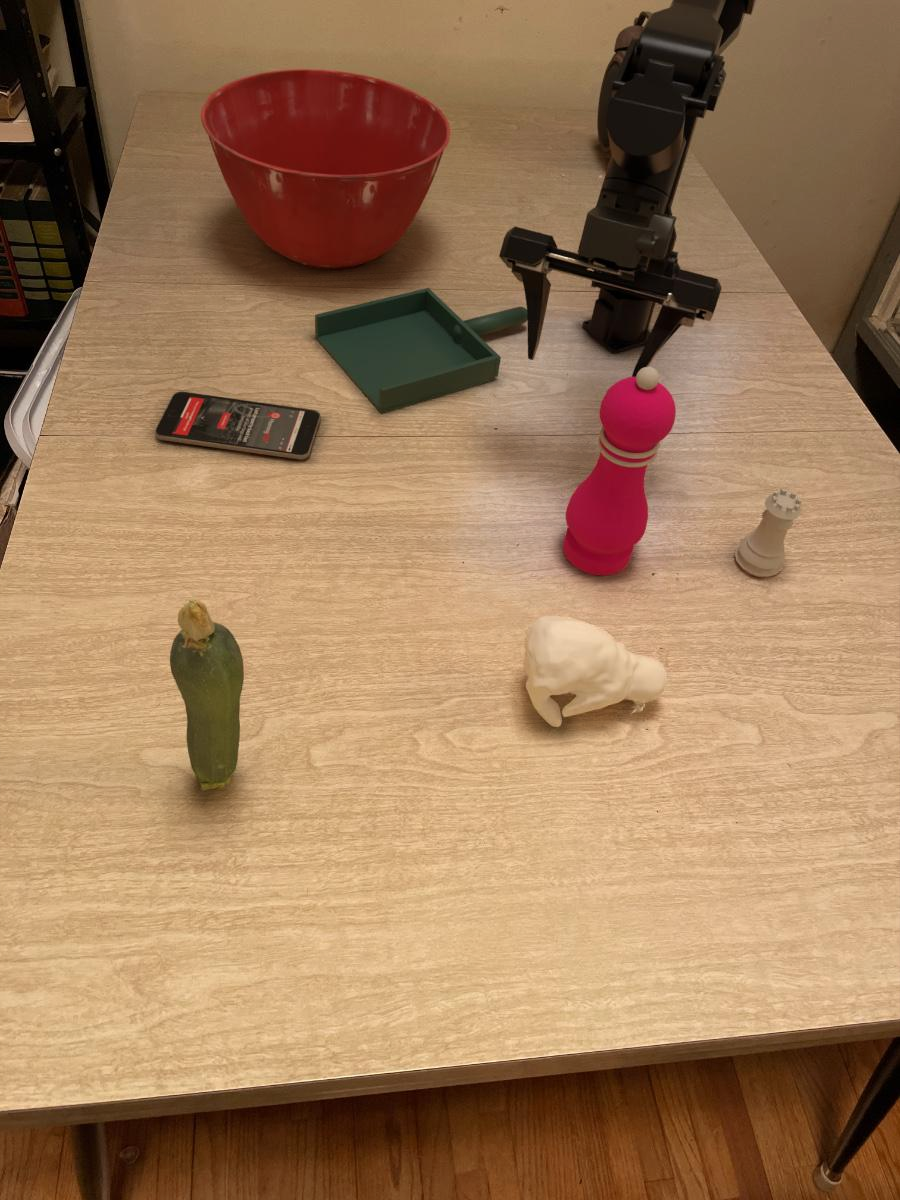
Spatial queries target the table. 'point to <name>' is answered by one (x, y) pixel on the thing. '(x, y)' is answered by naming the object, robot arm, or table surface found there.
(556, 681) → the cream lumpy piece
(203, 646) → the vegetable
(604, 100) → the alarm clock
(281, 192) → the mixing bowl
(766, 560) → the rook chess piece
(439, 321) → the scoop
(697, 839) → the table surface
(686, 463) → the table surface
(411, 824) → the table surface
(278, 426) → the smartphone
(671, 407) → the pepper mill
